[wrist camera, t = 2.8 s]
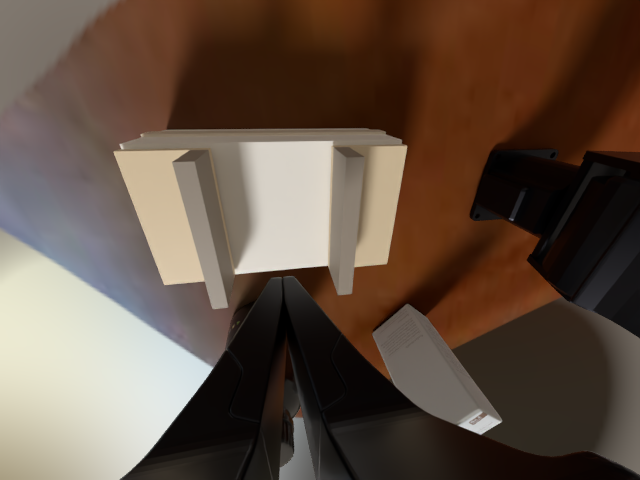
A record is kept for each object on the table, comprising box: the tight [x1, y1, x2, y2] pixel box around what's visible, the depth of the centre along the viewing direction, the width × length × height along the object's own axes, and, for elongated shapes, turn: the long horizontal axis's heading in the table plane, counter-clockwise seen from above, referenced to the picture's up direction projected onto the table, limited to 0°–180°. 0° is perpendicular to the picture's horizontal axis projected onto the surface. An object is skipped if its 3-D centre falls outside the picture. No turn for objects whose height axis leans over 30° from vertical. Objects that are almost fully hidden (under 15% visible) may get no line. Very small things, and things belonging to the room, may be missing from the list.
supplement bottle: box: [225, 302, 301, 467], centre depth 22 cm, size 7×7×12 cm
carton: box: [120, 128, 402, 274], centre depth 17 cm, size 14×8×6 cm, turn 89°
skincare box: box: [372, 304, 502, 434], centre depth 26 cm, size 6×4×12 cm
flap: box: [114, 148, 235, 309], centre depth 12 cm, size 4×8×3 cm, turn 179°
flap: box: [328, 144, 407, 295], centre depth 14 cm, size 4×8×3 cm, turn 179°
